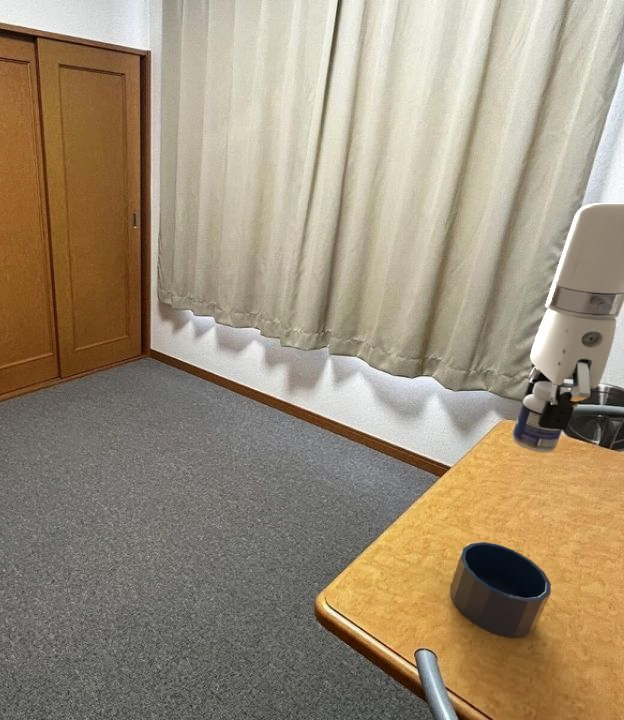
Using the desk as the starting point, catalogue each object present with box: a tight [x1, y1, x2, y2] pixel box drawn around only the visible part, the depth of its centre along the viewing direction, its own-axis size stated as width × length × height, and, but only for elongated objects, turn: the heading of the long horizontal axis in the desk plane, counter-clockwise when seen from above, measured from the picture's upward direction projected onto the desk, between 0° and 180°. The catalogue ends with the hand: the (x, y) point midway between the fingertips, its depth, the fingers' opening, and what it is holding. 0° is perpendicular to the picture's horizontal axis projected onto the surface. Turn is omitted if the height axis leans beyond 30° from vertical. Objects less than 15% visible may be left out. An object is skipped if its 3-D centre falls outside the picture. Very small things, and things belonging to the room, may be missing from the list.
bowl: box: [449, 541, 552, 639], centre depth 62 cm, size 9×9×6 cm
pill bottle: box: [511, 381, 571, 453], centre depth 71 cm, size 5×5×10 cm
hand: (542, 416), depth 71 cm, fingers closed on pill bottle, 5 cm apart
